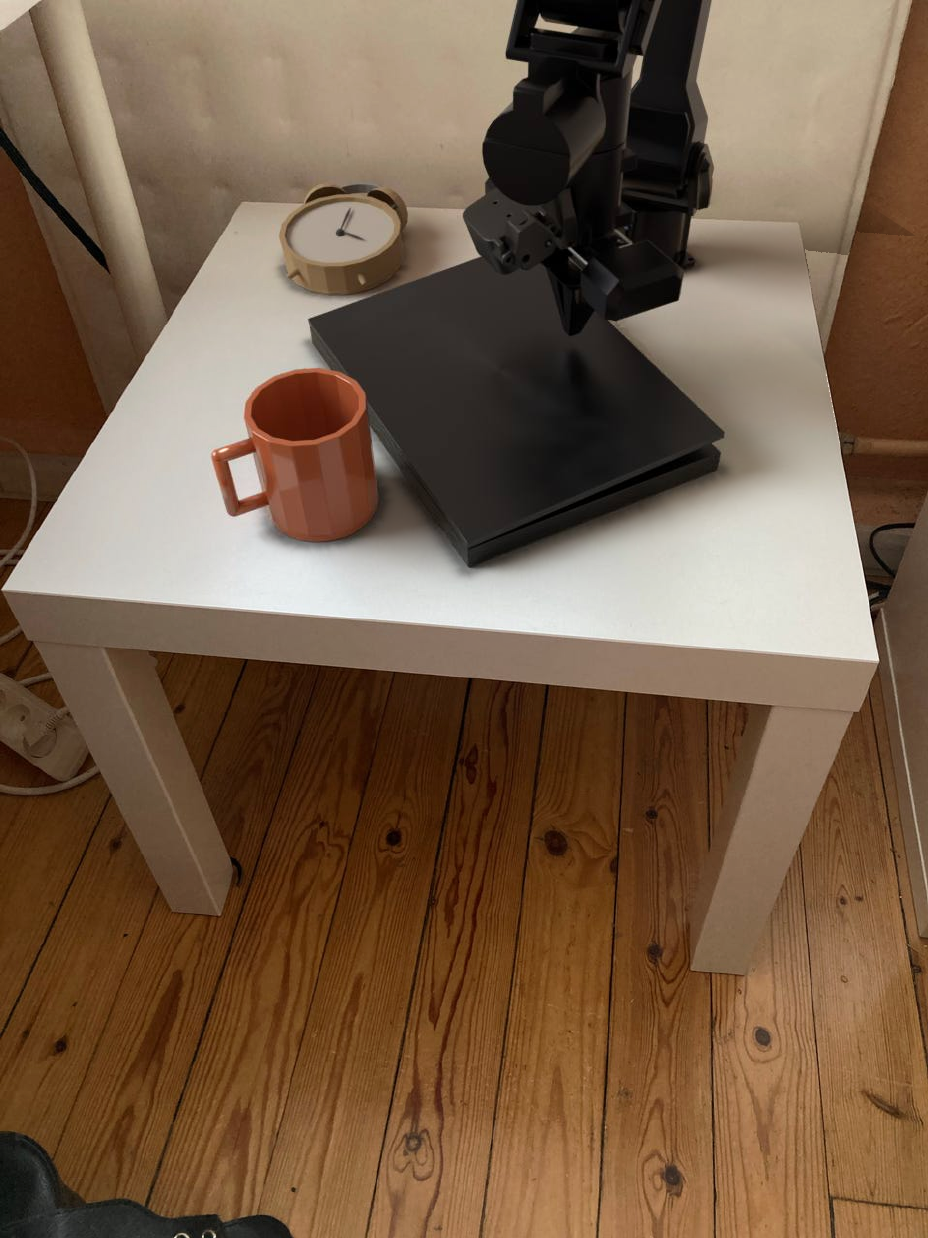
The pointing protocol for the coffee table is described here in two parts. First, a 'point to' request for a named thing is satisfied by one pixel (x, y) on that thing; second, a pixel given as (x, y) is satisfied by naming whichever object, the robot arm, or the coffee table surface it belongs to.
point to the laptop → (562, 518)
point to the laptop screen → (507, 395)
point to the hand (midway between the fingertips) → (572, 332)
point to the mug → (306, 455)
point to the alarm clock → (344, 238)
